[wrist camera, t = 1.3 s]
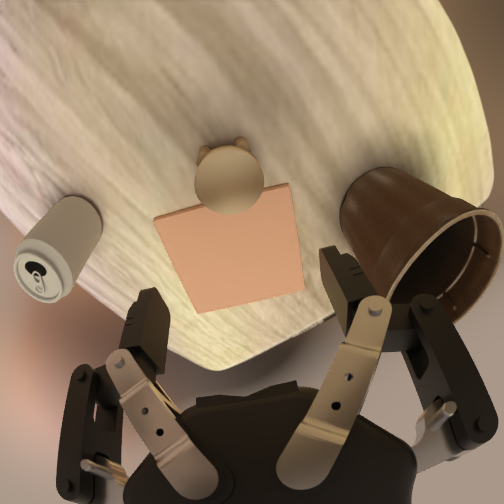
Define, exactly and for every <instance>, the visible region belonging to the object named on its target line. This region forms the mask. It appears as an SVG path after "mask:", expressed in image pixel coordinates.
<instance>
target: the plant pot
mask: <svg viewBox="0 0 504 504" xmlns="http://www.w3.org/2000/svg"><path fill="white" fill-rule="evenodd" d="M340 224H341V228H342V231H343V234H344V236H345V237H346V239H347V241H348V243H349V245H350V246H351V248H352V250H353V252H354V254H355V256H356V258H357V260H358V262H359V264H360V266H361V268H362V269H363V271H364V273H365V274H366V276H367V277H368V279H369V281H370V282H371V284H372V285H373V287H374V289H375V290H376V292H377V294H378V295H379V296H381V297H384V298H385V299H387V300H388V301H389V302H390V303H392V304H410V303H411V301H412V299H413V298H414V297H415V296H416V295H419V294H430V295H432V296H434V297H436V298H437V299H438V300H439V302H440V303H441V305H442V306H443V308H444V310H445V311H446V313H447V315H448V316H449V318H450V320H451V321H452V323H453V325H454V324H455V323H457V322H458V321H459V320H460V319H462V318H463V317H464V316H465V315H466V314H467V313H468V312H469V311H470V310H471V309H472V308H473V307H474V306H475V304H476V303H477V302H478V301H479V299H480V298H481V297H482V295H483V294H484V293H485V291H486V290H487V288H488V287H489V285H490V283H491V282H492V280H493V278H494V276H495V274H496V272H497V269H498V267H499V264H500V261H501V258H502V255H503V250H504V229H503V226H502V223H501V221H500V219H499V217H498V216H497V215H496V214H494V213H493V212H491V211H490V210H488V209H484V208H477V207H475V206H473V205H472V204H470V203H468V202H466V201H464V200H462V199H460V198H455V197H451V196H449V195H447V194H446V193H444V192H442V191H440V190H438V189H436V188H434V187H433V186H431V185H429V184H427V183H425V182H423V181H421V180H419V179H417V178H415V177H413V176H411V175H409V174H407V173H405V172H403V171H401V170H398V169H395V168H391V167H382V168H377V169H374V170H372V171H369V172H367V173H366V174H364V175H363V176H361V177H360V178H359V179H357V180H356V181H355V182H354V184H353V185H352V186H351V187H350V189H349V190H348V192H347V196H346V199H345V202H344V203H343V205H342V207H341V210H340Z"/></svg>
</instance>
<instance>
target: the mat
mask: <svg viewBox="0 0 504 504" xmlns="http://www.w3.org/2000/svg"><path fill="white" fill-rule="evenodd" d="M153 223H154V225H155V227H156V229H157V232H158V234H159V236H160V238H161V240H162V243H163V245H164V247H165V249H166V251H167V253H168V256H169V258H170V260H171V262H172V264H173V266H174V268H175V270H176V272H177V274H178V276H179V279H180V281H181V283H182V285H183V287H184V289H185V291H186V293H187V295H188V296H189V298H190V300H191V302H192V304H193V306H194V308H195V310H196V312H197V314H199V313H204V312H209V311H214V310H219V309H223V308H228V307H233V306H237V305H242V304H246V303H250V302H255V301H259V300H263V299H268V298H272V297H276V296H280V295H284V294H288V293H292V292H297V291H300V290H304V289H305V287H304V279H303V271H302V264H301V257H300V249H299V242H298V236H297V229H296V222H295V216H294V210H293V203H292V197H291V191H290V186H289V184H283V185H279V186H274V187H270V188H266V189H263V191H262V194H261V196H260V198H259V199H258V201H257V202H256V203H255V204H254V205H253V206H252V207H251V208H249V209H248V210H246V211H244V212H241V213H238V214H233V215H224V214H219V213H215V212H213V211H211V210H209V209H208V208H207V207H205V206H204V205H203V204H202V205H198V206H195V207H191V208H188V209H184V210H181V211H177V212H174V213H170V214H167V215H163V216H160V217H157V218H154V220H153Z"/></svg>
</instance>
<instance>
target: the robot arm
mask: <svg viewBox="0 0 504 504" xmlns="http://www.w3.org/2000/svg"><path fill="white" fill-rule="evenodd" d="M319 258H320V271H321V278H322V282H323V285H324V288H325V290H326V292H327V295H328V297H329V299H330V302H331V304H332V306H333V309H334V311H335V313H336V316H337V318H338V320H339V323H340V325H341V327H342V330H343V333H344V335H345V337H346V340H345V341H344V342H342V343H341V344H340V346H339V349H338V351H337V353H336V355H335V358H334V360H333V362H332V364H331V366H330V368H329V371H328V373H327V375H326V377H325V379H324V381H323V383H322V385H321V387H320V389H319V390H318V389H315V388H311V387H298V386H297V382H296V380H295V381H291V382H287V383H282V384H278V385H273V386H270V387H268V388H265V389H263V390H260V391H258V392H256V393H253V394H251V395H249V396H245V397H241V396H228V395H214V396H206V397H198V398H196V405H194V406H192V407H190V408H188V409H186V410H185V411H184V412H181V411H180V410H179V409H178V408H177V407H176V406H175V404H174V403H173V402H172V401H171V399H170V398H169V397H168V396H167V394H166V393H165V392H164V390H163V389H162V388H161V386H160V385H159V384H158V383H157V382H156V375H159V374H164V372H165V363H166V353H167V344H168V336H169V328H170V312H169V309H168V307H167V306H166V304H165V302H164V300H163V299H162V297H161V295H160V293H159V292H158V290H157V289H156V288H155V287H153V288H149V289H144V290H141V291H140V293H139V296H138V300H137V301H136V302H134V303H133V304H132V306H131V307H130V309H129V310H128V314H127V317H126V319H127V320H126V321H125V326H124V329H123V333H122V337H121V341H120V345H119V349H118V350H116V351H115V352H113V353H112V354H111V355H110V356H109V357H108V359H107V361H106V364H105V365H103V366H101V367H98V368H96V369H92V367H90V366H89V365H88V364H83V365H80V366H78V367H77V368H76V369H75V370H74V372H73V373H72V376H71V380H70V385H69V389H68V394H67V399H66V404H65V409H64V415H63V421H62V428H61V435H60V442H59V451H58V461H57V475H56V487H57V490H58V493H59V494H60V496H61V497H62V498H63V499H65V500H68V501H71V502H75V503H78V504H411V497H412V490H413V485H414V481H415V478H416V474H417V473H419V472H422V471H424V470H426V469H429V468H431V467H433V466H435V465H437V464H439V463H441V462H443V461H452V460H455V459H457V458H459V457H460V456H462V455H464V454H466V453H468V452H470V451H472V450H474V449H475V448H477V447H479V446H481V445H482V444H484V443H486V442H487V441H489V440H490V439H491V438H492V437H493V436H494V434H495V433H496V430H497V428H498V416H497V413H496V411H495V408H494V406H493V403H492V401H491V398H490V396H489V394H488V391H487V389H486V387H485V385H484V382H483V380H482V378H481V376H480V374H479V372H478V370H477V368H476V366H475V364H474V362H473V360H472V358H471V356H470V354H469V352H468V350H467V348H466V346H465V345H464V343H463V341H462V339H461V337H460V335H459V333H458V332H457V330H456V328H455V326H454V325H453V323H452V321H451V320H450V318H449V316H448V315H447V313H446V311H445V310H444V308H443V306H442V305H441V303H440V302H439V300H438V299H437V298H436V297H434V296H432V295H430V294H419V295H416V296H415V297H414V298H413V299H412V301H411V303H410V304H392V303H390V302H389V301H388V300H387V299H385V298H384V297H381V296H379V295H378V294H377V292H376V290H375V289H374V287H373V285H372V284H371V282H370V281H369V279H368V277H367V276H366V274H365V273H364V271H363V269H362V268H361V267H360V265H359V263H358V261H357V260H356V258H354V257H353V256H351V255H350V254H348V253H345V254H342V255H341V254H340V253H339V251H338V249H337V248H336V246H335V245H333V246H329V247H325V248H321V249H319ZM397 351H398V352H399V351H401V353H402V355H403V358H404V360H405V362H406V365H407V367H408V370H409V372H410V375H411V377H412V380H413V383H414V385H415V388H416V391H417V393H418V396H419V398H420V401H421V404H422V407H423V410H424V412H423V413H422V414H421V416H420V417H419V418H418V420H417V423H416V440H415V443H414V444H413V446H412V447H410V446H409V445H408V444H407V443H406V442H405V441H403V440H401V439H399V438H398V437H396V436H394V435H393V434H391V433H389V432H388V431H386V430H384V429H383V428H381V427H379V426H377V425H376V424H374V423H373V422H371V421H369V420H368V419H366V418H364V417H363V416H361V415H360V411H361V409H362V407H363V404H364V402H365V399H366V396H367V394H368V391H369V388H370V385H371V382H372V379H373V377H374V374H375V371H376V368H377V365H378V362H379V359H380V355H381V352H397ZM95 403H96V404H97V411H96V419H95V422H94V418H93V414H94V407H95ZM123 410H124V411H125V413H126V415H127V416H128V418H129V420H130V421H131V423H132V425H133V426H134V428H135V429H136V431H137V433H138V434H139V436H140V437H141V439H142V440H143V442H144V443H145V445H146V446H147V448H148V449H149V451H150V453H149V454H148V455H147V457H146V458H145V459H144V460H143V462H142V463H141V464H140V465H139V467H138V468H137V469H136V471H135V472H134V473H133V474H132V475H131V477H130V478H129V477H128V476H127V475H126V471H125V469H124V468H123V467H122V466H121V445H122V424H123Z"/></svg>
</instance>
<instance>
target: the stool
mask: <svg viewBox="0 0 504 504" xmlns="http://www.w3.org/2000/svg"><path fill="white" fill-rule="evenodd" d="M235 145H236V146H233V145H225V146H220V147H217V148H215V149H213V150H211V149H210V148H209V147H208V146H203V147H202V148H201V149H200V152H199V155H198V159H197V166H198V168H197V171H196V175H195V182H194V186H195V191H196V194H197V197H198V198H199V200H200V201H201V203H202V204H203V205H204V206H205V207H207V208H208V209H209V210H211V211H213V212H215V213H219V214H224V215H233V214H238V213H241V212H244V211H246V210H248V209H249V208H251V207H252V206H253V205H254V204H255V203H256V202H257V201H258V199H259V198H260V196H261V194H262V191H263V187H264V177H263V173H262V170H261V168H260V166H259V164H258V161H257V160H256V158H255V157H254V156H253V155H252V154H251V151H250V148H249V146H248V144H247V141H246V139H245V138H244V137H238V138H237V139H236V140H235Z"/></svg>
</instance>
